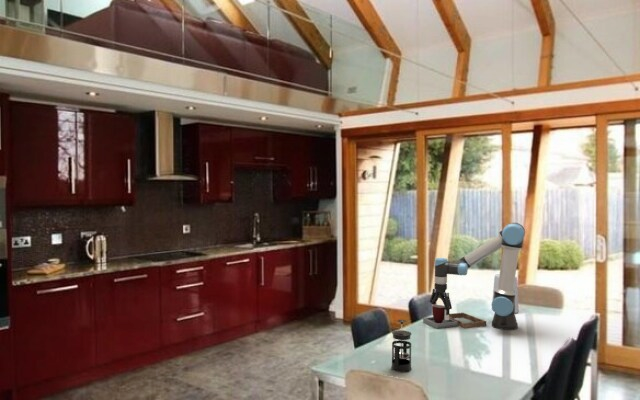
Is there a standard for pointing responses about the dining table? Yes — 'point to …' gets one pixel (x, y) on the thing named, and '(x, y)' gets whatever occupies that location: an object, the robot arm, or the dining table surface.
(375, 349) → the dining table surface
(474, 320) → the brown wooden tray
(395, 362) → the french press
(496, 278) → the plastic bottle
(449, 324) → the tray
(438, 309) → the mug
